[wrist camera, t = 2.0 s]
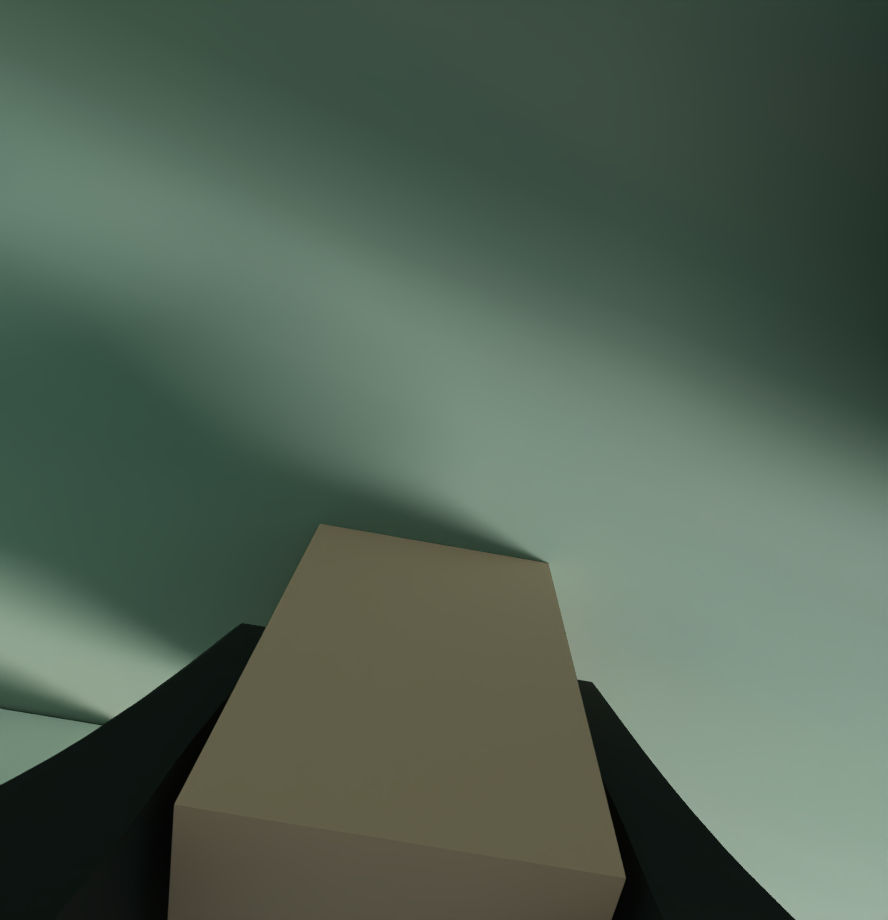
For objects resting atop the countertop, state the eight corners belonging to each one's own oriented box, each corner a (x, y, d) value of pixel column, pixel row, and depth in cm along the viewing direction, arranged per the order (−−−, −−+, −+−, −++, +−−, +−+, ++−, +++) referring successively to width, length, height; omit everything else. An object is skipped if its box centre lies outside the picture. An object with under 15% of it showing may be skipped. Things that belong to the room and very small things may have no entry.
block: (502, 746, 13) (530, 1153, 7) (296, 712, 13) (157, 1096, 7) (547, 562, 12) (625, 878, 6) (320, 523, 11) (173, 804, 6)
